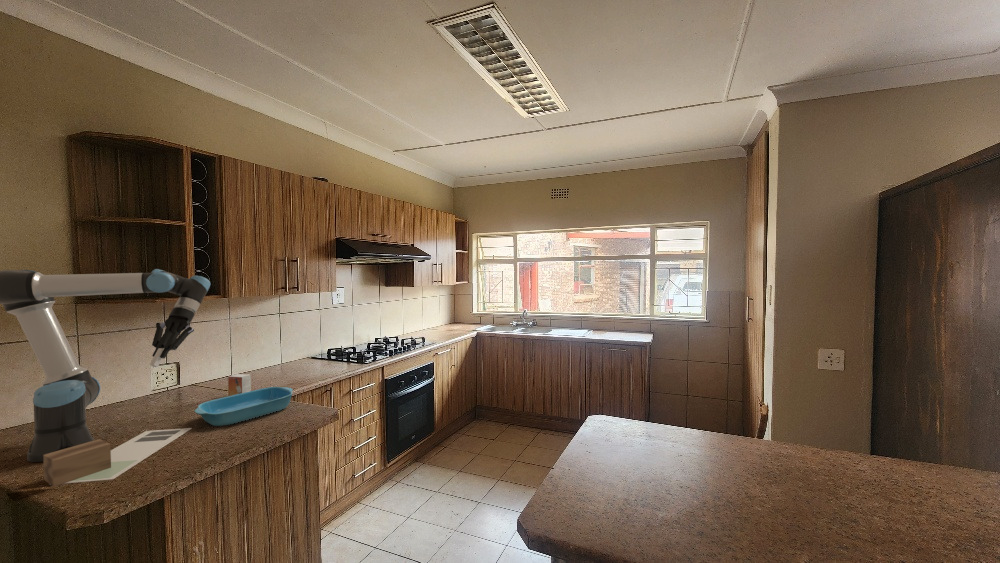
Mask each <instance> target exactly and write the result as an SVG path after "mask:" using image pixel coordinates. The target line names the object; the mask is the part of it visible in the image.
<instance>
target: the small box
mask: <svg viewBox="0 0 1000 563" xmlns="http://www.w3.org/2000/svg"><path fill="white" fill-rule="evenodd" d="M251 375H252V374H248V373H246V374H245V373H236V374H232V375H229V376H227V379H228V380H227V381H228V384H227V385H228V386H227V387H228V391H227V392H228V396H232V395H236V394H241V393H245V392H249V391H252V388H251V387H252V379H251V378H252V376H251ZM228 396H227V397H228Z"/></svg>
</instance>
